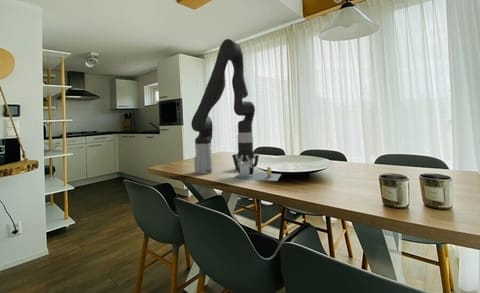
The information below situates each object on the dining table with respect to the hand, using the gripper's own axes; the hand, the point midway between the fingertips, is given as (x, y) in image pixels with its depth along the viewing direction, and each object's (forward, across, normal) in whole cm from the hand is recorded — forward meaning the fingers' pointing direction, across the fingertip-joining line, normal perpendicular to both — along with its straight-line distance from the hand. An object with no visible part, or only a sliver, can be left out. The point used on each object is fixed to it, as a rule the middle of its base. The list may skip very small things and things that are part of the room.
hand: (246, 174), depth 121 cm
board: (+2, +6, 0) cm, 6 cm away
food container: (+2, -6, +17) cm, 18 cm away
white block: (+1, 0, 0) cm, 1 cm away
